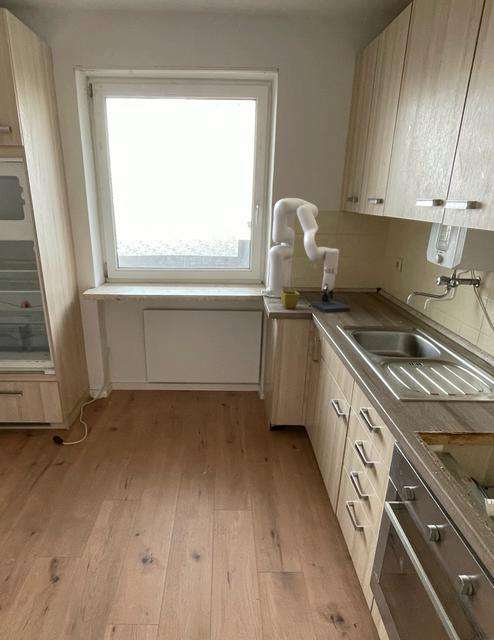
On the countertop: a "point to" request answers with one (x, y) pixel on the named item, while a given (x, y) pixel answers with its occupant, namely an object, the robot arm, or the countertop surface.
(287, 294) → the flower pot
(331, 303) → the dark stamp
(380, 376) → the countertop surface
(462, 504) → the countertop surface
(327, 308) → the big pad
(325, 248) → the robot arm
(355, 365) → the countertop surface
